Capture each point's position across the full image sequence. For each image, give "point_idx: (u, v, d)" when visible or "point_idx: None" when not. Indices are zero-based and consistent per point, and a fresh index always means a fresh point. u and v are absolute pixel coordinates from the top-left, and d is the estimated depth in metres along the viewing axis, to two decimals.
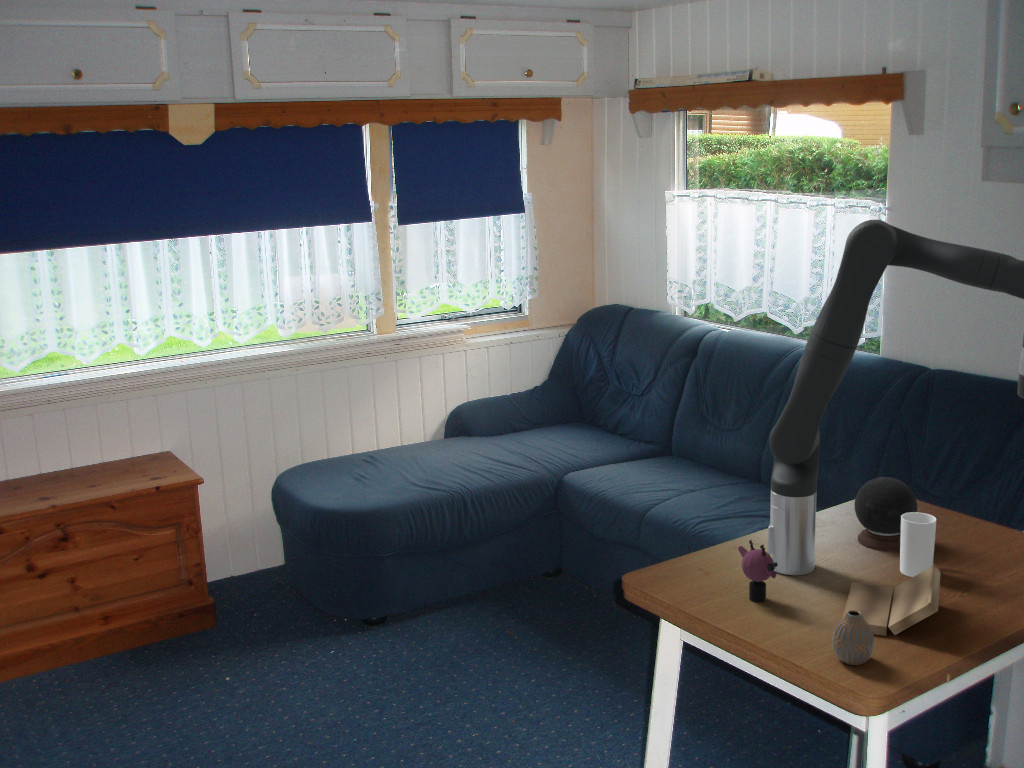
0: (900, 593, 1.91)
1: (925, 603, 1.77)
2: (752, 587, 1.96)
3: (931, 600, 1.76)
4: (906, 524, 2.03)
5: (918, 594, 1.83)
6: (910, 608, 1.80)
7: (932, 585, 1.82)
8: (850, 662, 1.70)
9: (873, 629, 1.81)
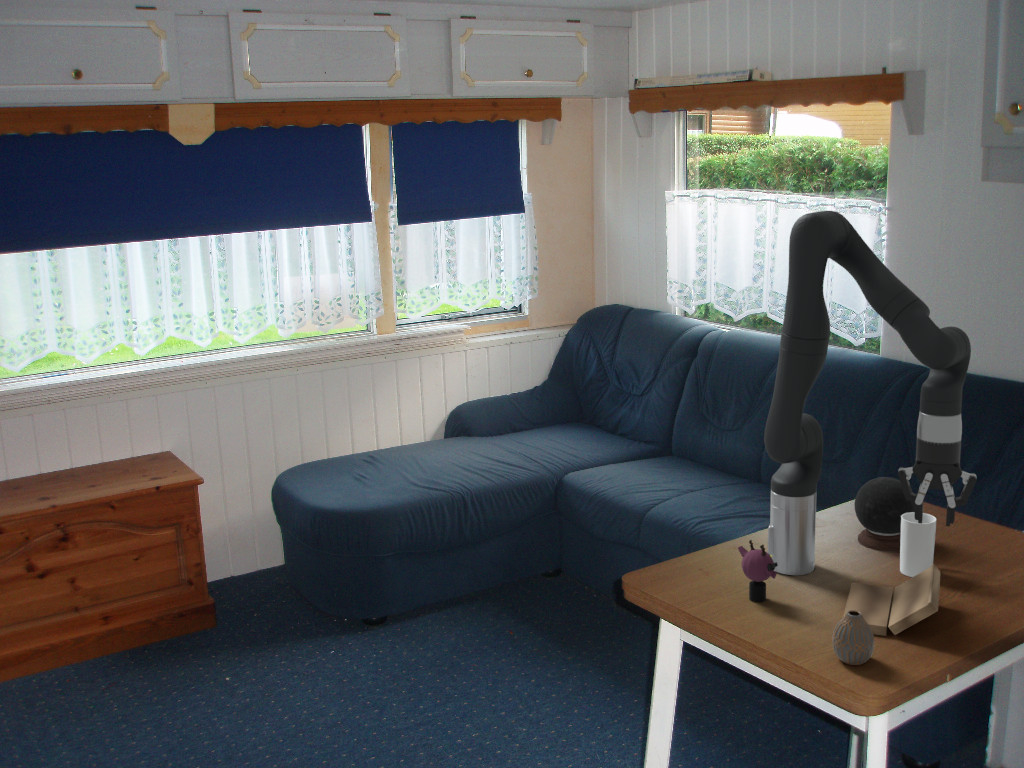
0: (900, 593, 1.91)
1: (925, 603, 1.77)
2: (752, 587, 1.96)
3: (931, 600, 1.76)
4: (906, 524, 2.03)
5: (918, 594, 1.83)
6: (910, 608, 1.80)
7: (932, 585, 1.82)
8: (850, 662, 1.70)
9: (873, 629, 1.81)
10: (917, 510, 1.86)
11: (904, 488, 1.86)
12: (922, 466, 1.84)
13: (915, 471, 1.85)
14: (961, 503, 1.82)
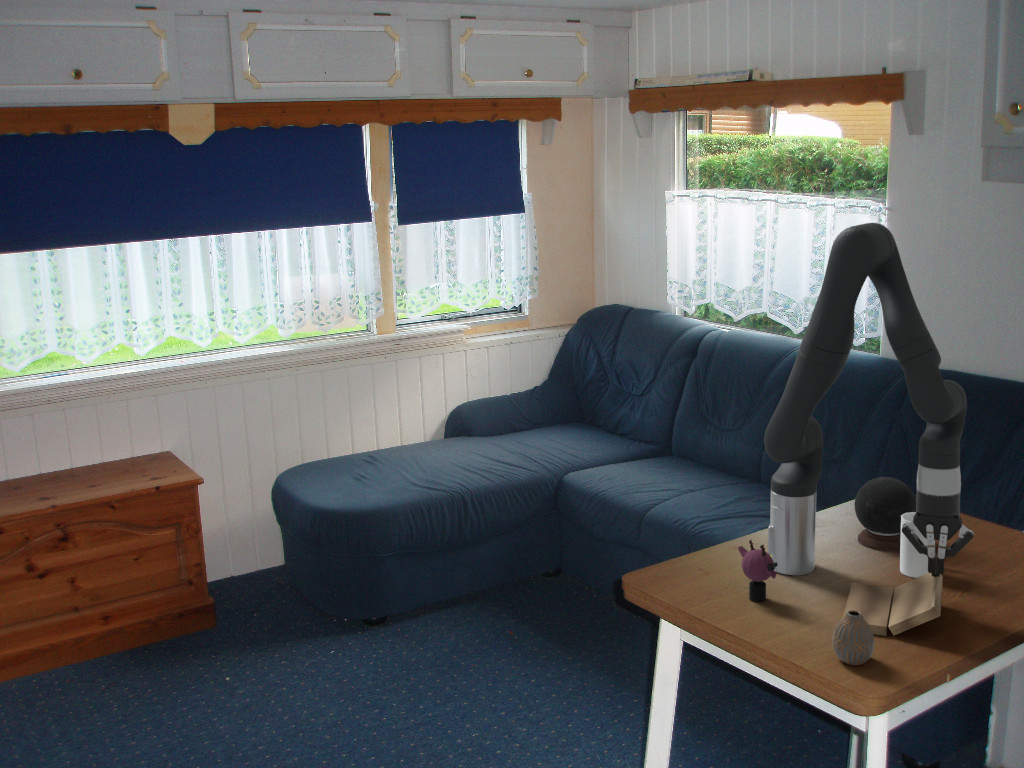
0: (901, 593, 1.91)
1: (928, 606, 1.77)
2: (752, 587, 1.96)
3: (934, 604, 1.76)
4: None
5: (920, 596, 1.83)
6: (911, 611, 1.80)
7: (935, 589, 1.82)
8: (850, 662, 1.70)
9: (873, 629, 1.81)
10: (930, 563, 1.88)
11: (913, 543, 1.88)
12: (921, 517, 1.86)
13: (916, 524, 1.87)
14: (950, 554, 1.85)
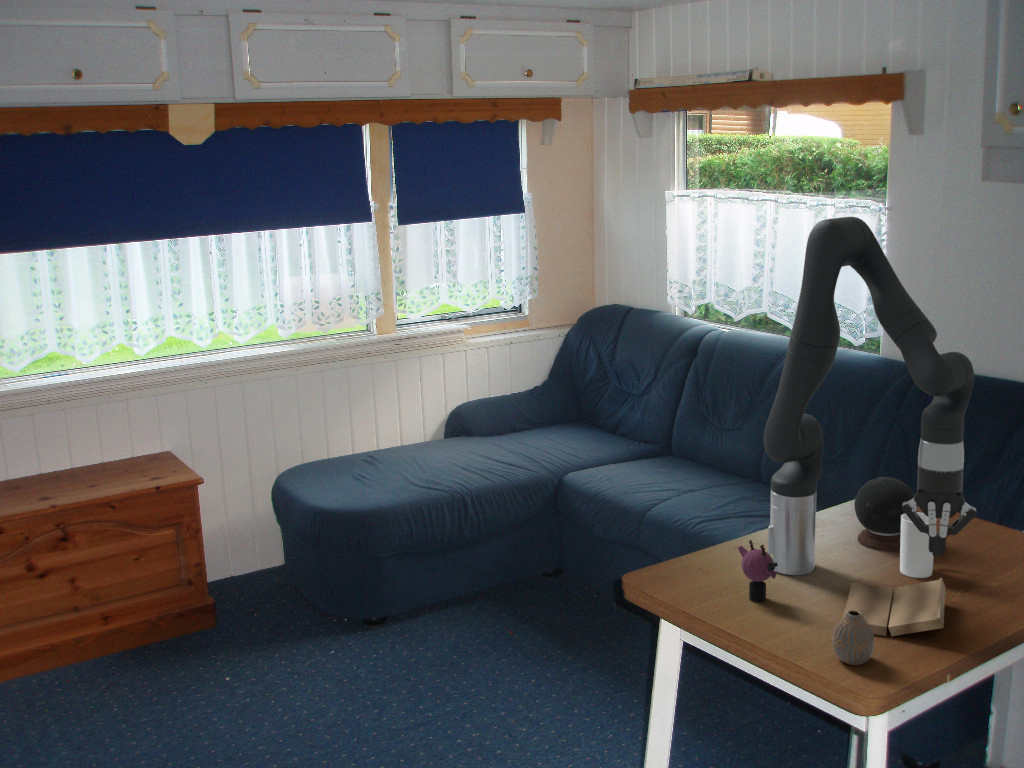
0: (902, 595, 1.91)
1: (933, 616, 1.77)
2: (752, 587, 1.96)
3: (940, 616, 1.76)
4: (906, 524, 2.03)
5: (924, 604, 1.83)
6: (914, 616, 1.80)
7: (941, 600, 1.82)
8: (850, 662, 1.70)
9: (873, 629, 1.81)
10: (931, 542, 1.81)
11: (914, 521, 1.81)
12: (922, 494, 1.79)
13: (918, 501, 1.80)
14: (952, 532, 1.79)
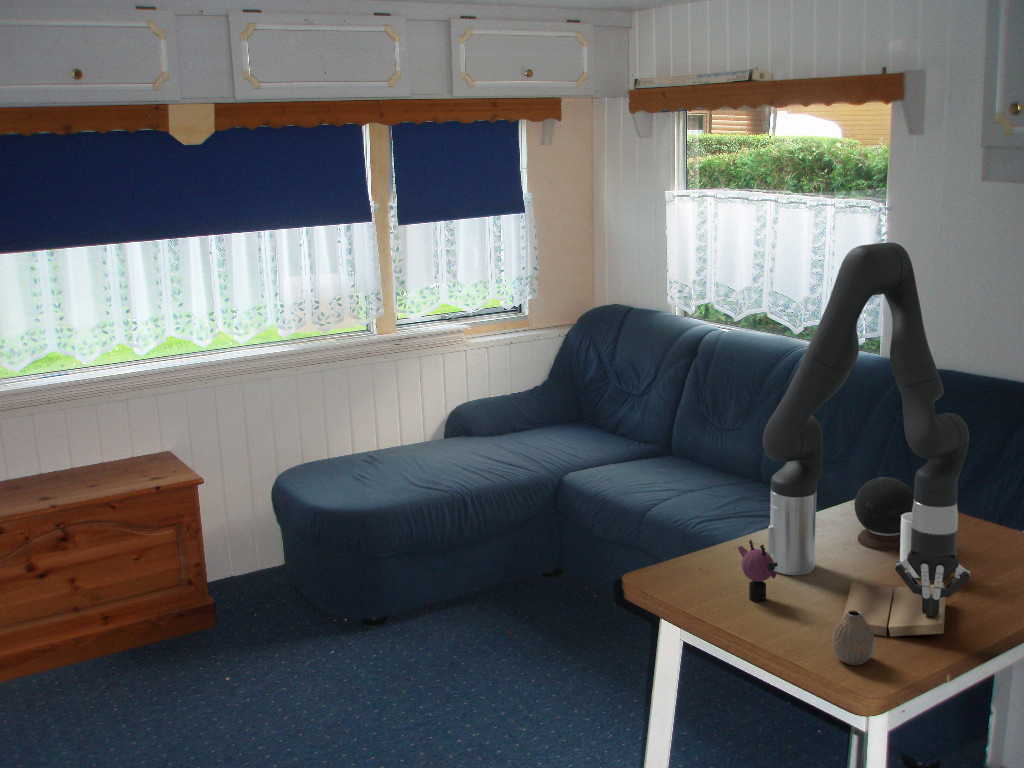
0: (902, 596, 1.91)
1: (934, 621, 1.77)
2: (752, 587, 1.96)
3: (941, 621, 1.76)
4: (906, 524, 2.03)
5: None
6: (915, 619, 1.80)
7: (942, 605, 1.82)
8: (850, 662, 1.70)
9: (873, 629, 1.81)
10: (925, 604, 1.79)
11: (907, 582, 1.79)
12: (915, 555, 1.77)
13: (911, 562, 1.78)
14: (945, 594, 1.76)
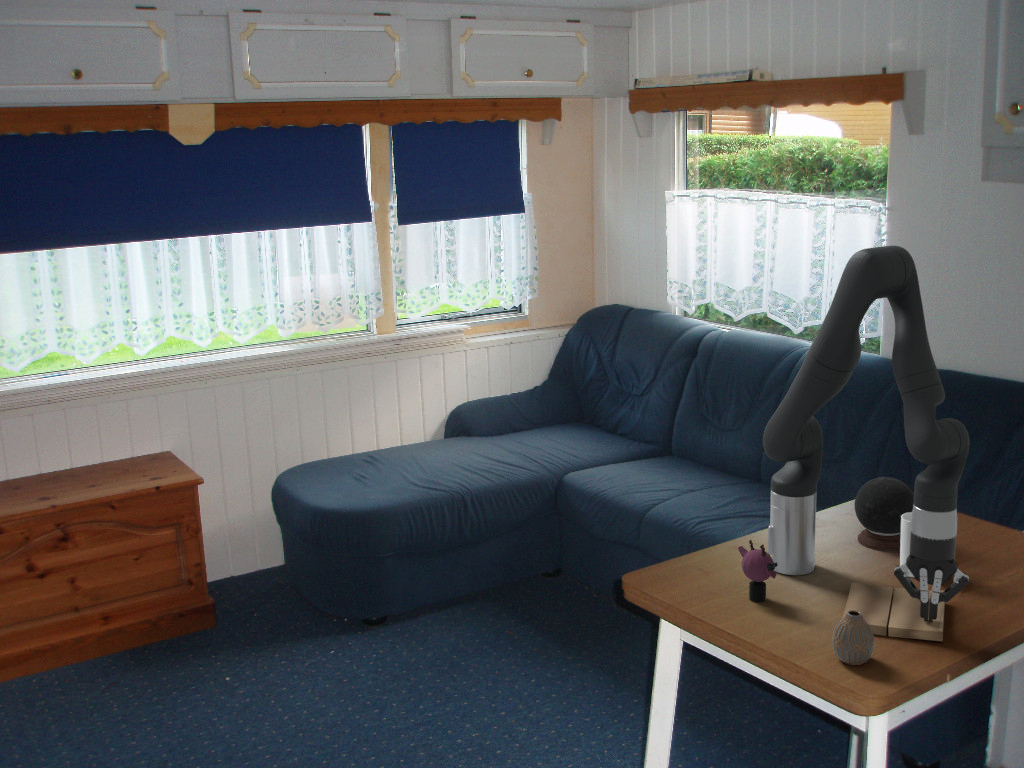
0: (902, 598, 1.91)
1: (935, 628, 1.77)
2: (752, 587, 1.96)
3: (942, 629, 1.77)
4: (906, 524, 2.03)
5: None
6: (915, 622, 1.80)
7: (943, 613, 1.83)
8: (850, 662, 1.70)
9: (873, 629, 1.81)
10: (923, 608, 1.79)
11: (906, 587, 1.79)
12: (914, 560, 1.77)
13: (909, 567, 1.78)
14: (944, 599, 1.77)
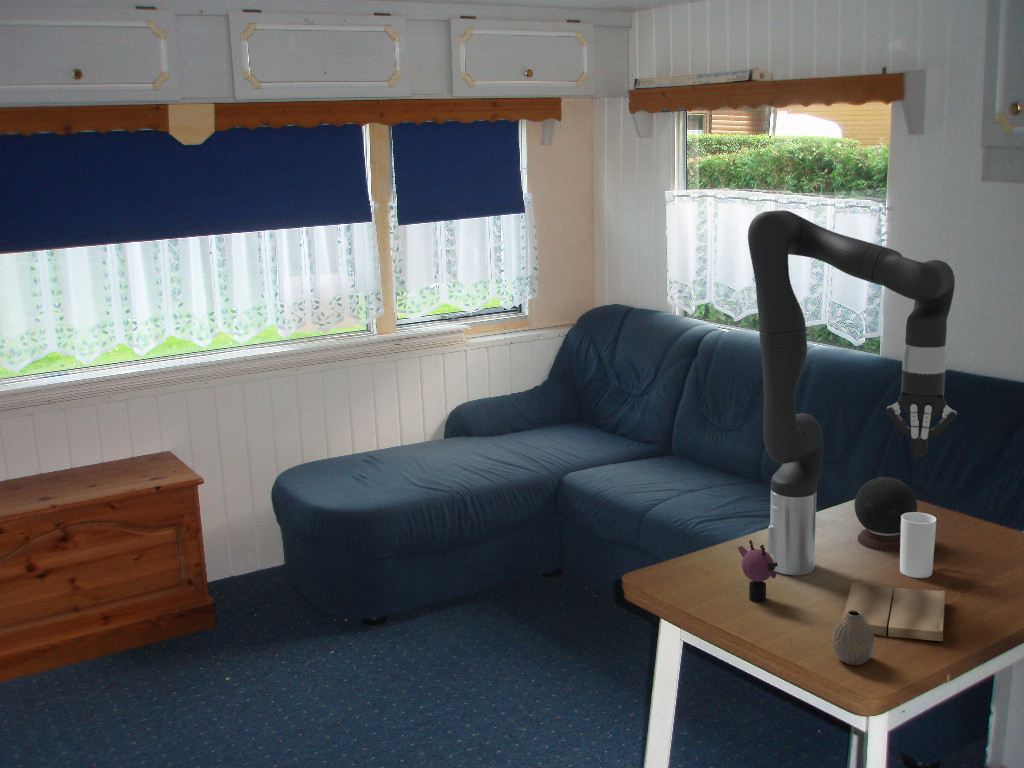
0: (902, 598, 1.91)
1: (935, 628, 1.77)
2: (752, 587, 1.96)
3: (942, 629, 1.77)
4: (906, 524, 2.03)
5: (925, 612, 1.84)
6: (915, 622, 1.80)
7: (943, 613, 1.83)
8: (850, 662, 1.70)
9: (873, 629, 1.81)
10: (913, 444, 1.89)
11: (897, 424, 1.89)
12: (905, 397, 1.88)
13: (901, 404, 1.88)
14: (933, 434, 1.87)
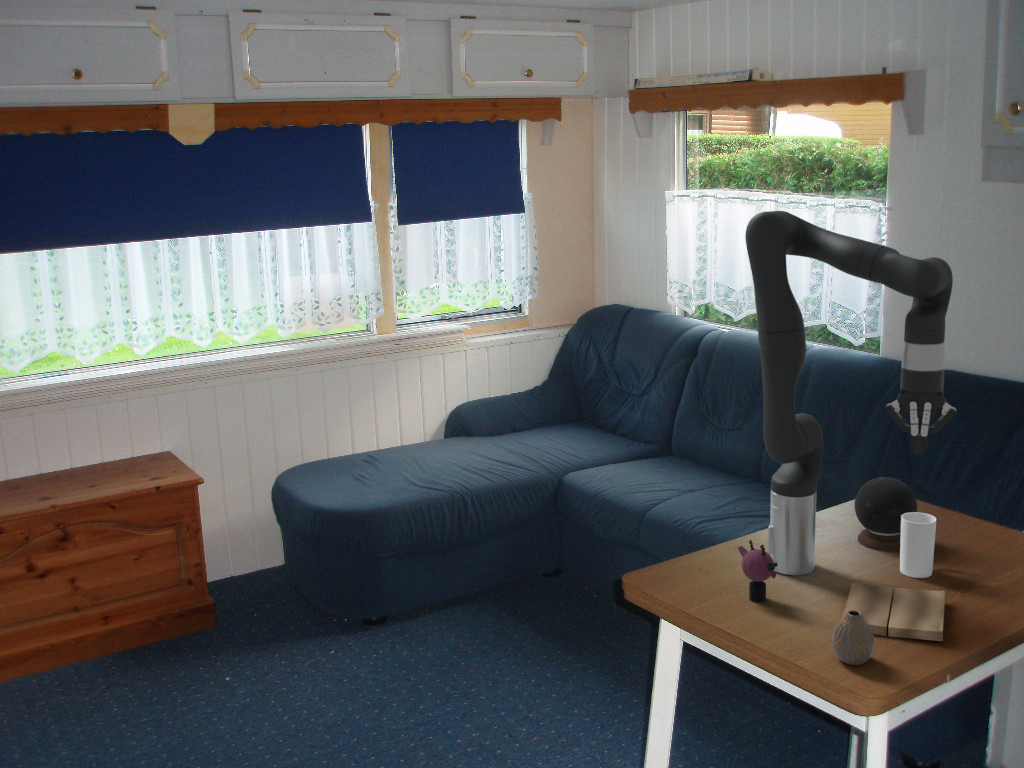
0: (902, 598, 1.91)
1: (935, 628, 1.77)
2: (752, 587, 1.96)
3: (942, 629, 1.77)
4: (906, 524, 2.03)
5: (925, 612, 1.84)
6: (915, 622, 1.80)
7: (943, 613, 1.83)
8: (850, 662, 1.70)
9: (873, 629, 1.81)
10: (913, 441, 1.89)
11: (897, 421, 1.89)
12: (905, 395, 1.88)
13: (900, 402, 1.88)
14: (932, 431, 1.87)
